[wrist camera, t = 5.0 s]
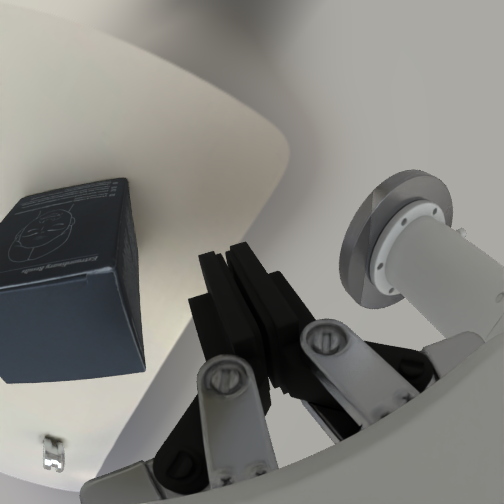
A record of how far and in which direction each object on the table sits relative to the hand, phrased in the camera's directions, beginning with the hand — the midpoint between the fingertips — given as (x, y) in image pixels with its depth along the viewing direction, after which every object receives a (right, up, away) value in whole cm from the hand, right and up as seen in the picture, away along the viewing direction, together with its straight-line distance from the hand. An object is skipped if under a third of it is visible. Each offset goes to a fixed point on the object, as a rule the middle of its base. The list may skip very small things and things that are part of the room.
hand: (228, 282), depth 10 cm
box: (-11, +3, +7) cm, 13 cm away
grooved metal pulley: (-28, -26, +18) cm, 42 cm away
